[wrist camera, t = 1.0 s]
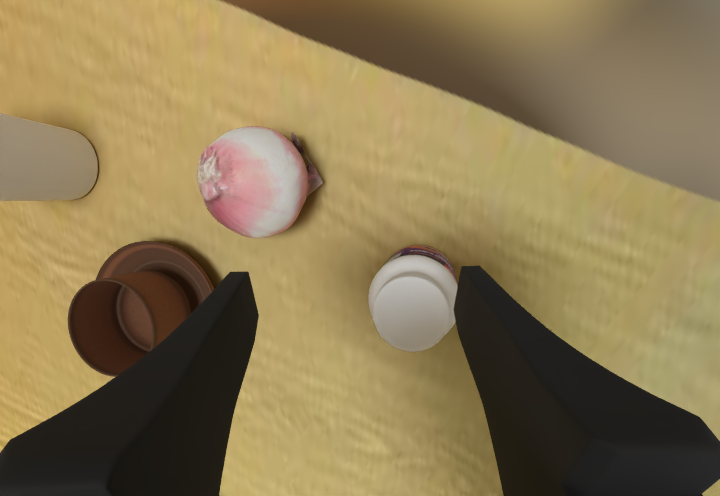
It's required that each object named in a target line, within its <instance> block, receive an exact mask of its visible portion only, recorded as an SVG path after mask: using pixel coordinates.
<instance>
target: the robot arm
mask: <svg viewBox="0 0 720 496" xmlns="http://www.w3.org/2000/svg"><path fill="white" fill-rule="evenodd" d="M453 310H454V315H455V320H456V325H457V329H458V334H459V338H460V340H461V343H462V346H463V349H464V352H465V355H466V358H467V360H468V363H469V366H470V369H471V372H472V374H473V377H474V380H475V383H476V386H477V388H478V391H479V394H480V397H481V400H482V404H483V407H484V410H485V415H486V419H487V423H488V427H489V431H490V435H491V439H492V443H493V448H494V452H495V457H496V461H497V466H498V470H499V475H500V480H501V485H502V490H503V495H504V496H703V495H702V493H703V492H704V491H706V490H707V489H708V488H709V487H710V486H712V485H713V484H714V483H715V482H716V481H718V480H719V479H720V441H719V440H718V439H717V438H716V436H715V435H714V434H713V433H712V431H711V430H710V429H709V428H708V426H707V425H706V424H705V423H704V422H703V420H702V419H701V418H700V417H698V416H696V415H694V414H692V413H690V412H688V411H686V410H684V409H682V408H679V407H677V406H675V405H673V404H671V403H669V402H667V401H665V400H663V399H661V398H658V397H656V396H654V395H652V394H650V393H649V392H647V391H645V390H643V389H641V388H639V387H637V386H636V385H634V384H632V383H630V382H628V381H626V380H624V379H623V378H621V377H619V376H617V375H616V374H614V373H612V372H611V371H609V370H607V369H606V368H604V367H602V366H601V365H599V364H598V363H596V362H594V361H593V360H591V359H590V358H588V357H586V356H585V355H583V354H582V353H580V352H579V351H577V350H576V349H575V348H573V347H572V346H570V345H569V344H568V343H566V342H565V341H563V340H562V339H561V338H559V337H558V336H557V335H555V334H554V333H553V332H551V331H550V330H549V329H548V328H546V327H545V326H544V325H543V324H541V323H540V322H539V321H538V320H537V319H535V318H534V317H533V316H532V315H531V314H530V313H528V312H527V311H526V310H525V309H524V308H523V307H522V306H521V305H519V304H518V303H517V302H516V301H515V300H514V299H513V298H512V297H511V296H510V295H509V294H508V293H507V292H506V291H505V290H504V289H503V288H502V287H501V286H500V285H498V284H497V283H496V282H495V281H494V280H493V279H492V278H491V277H490V276H489V275H488V274H487V273H486V272H485V271H484V270H483V269H482V268H481V267H480V266H462V267H461V272H460V277H459V283H458V288H457V293H456V298H455V304H454V309H453ZM258 316H259V314H258V310H257V306H256V302H255V298H254V293H253V289H252V285H251V281H250V277H249V272H230V273H229V274H228V275H227V276H226V277H225V278H224V279H223V280H222V281H221V282H220V283H219V284H218V286H217V287H216V288H215V289H214V290H213V291H212V292H211V293H210V294H209V295H208V296H207V298H206V299H205V300H204V301H203V302H202V303H201V304H200V305H199V306H198V307H197V308H196V309H195V310H194V311H193V312H192V313H191V314H190V315H189V316H188V317H187V318H186V319H185V320H184V321H183V322H182V323H181V324H180V325H179V326H178V327H177V328H176V329H175V330H174V331H173V332H172V333H171V334H170V335H169V336H167V337H166V338H165V339H164V340H163V341H162V342H161V343H159V344H158V345H157V346H156V347H155V348H153V349H152V350H151V351H150V352H149V353H147V354H146V355H145V356H144V357H142V358H141V359H140V360H139V361H137V362H136V363H135V364H133V365H132V366H130V367H129V368H128V369H126V370H125V371H123V372H122V373H121V374H119V375H118V376H116V377H115V378H114V379H112V380H111V381H109V382H108V383H107V384H105V385H104V386H102V387H101V388H99V389H98V390H96V391H94V392H93V393H91V394H90V395H88V396H87V397H85V398H83V399H82V400H80V401H79V402H77V403H75V404H74V405H72V406H70V407H69V408H67V409H65V410H64V411H62V412H60V413H59V414H57V415H55V416H53V417H51V418H50V419H48V420H46V421H44V422H42V423H40V424H39V425H37V426H35V427H33V428H31V429H30V430H28V431H26V432H24V433H22V434H20V435H18V436H17V437H15V438H13V439H11V440H10V441H9V442H8V443H7V445H6V446H5V447H4V449H3V450H2V451H1V453H0V496H219V491H220V485H221V478H222V472H223V467H224V461H225V455H226V449H227V444H228V438H229V433H230V428H231V423H232V418H233V413H234V410H235V406H236V402H237V398H238V395H239V392H240V389H241V385H242V382H243V379H244V375H245V372H246V369H247V365H248V362H249V359H250V355H251V352H252V348H253V345H254V341H255V335H256V329H257V323H258Z"/></svg>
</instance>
